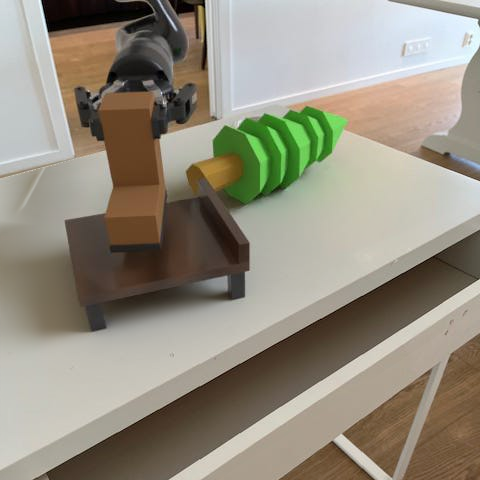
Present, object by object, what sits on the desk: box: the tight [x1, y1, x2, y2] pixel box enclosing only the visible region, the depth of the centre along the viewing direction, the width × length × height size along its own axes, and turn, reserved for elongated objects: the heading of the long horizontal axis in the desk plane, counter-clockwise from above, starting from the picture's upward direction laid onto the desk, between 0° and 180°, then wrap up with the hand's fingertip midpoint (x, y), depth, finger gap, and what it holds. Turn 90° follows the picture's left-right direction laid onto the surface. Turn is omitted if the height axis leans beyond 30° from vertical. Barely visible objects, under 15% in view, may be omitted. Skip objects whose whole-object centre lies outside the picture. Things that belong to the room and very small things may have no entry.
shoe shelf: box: [64, 178, 251, 332], centre depth 59 cm, size 18×16×7 cm
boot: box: [98, 92, 168, 253], centre depth 53 cm, size 5×12×12 cm, turn 3°
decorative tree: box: [185, 105, 349, 205], centre depth 76 cm, size 11×12×30 cm
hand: (127, 130), depth 51 cm, fingers closed on boot, 5 cm apart
